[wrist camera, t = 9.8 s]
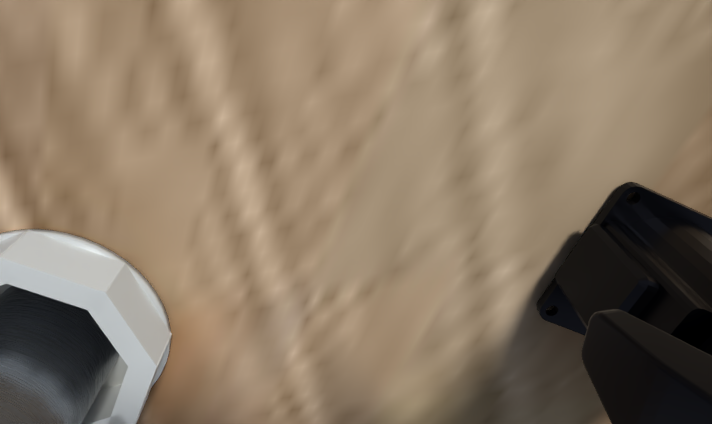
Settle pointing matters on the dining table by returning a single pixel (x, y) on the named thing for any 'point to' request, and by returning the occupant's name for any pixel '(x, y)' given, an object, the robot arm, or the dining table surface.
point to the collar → (96, 309)
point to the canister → (49, 359)
